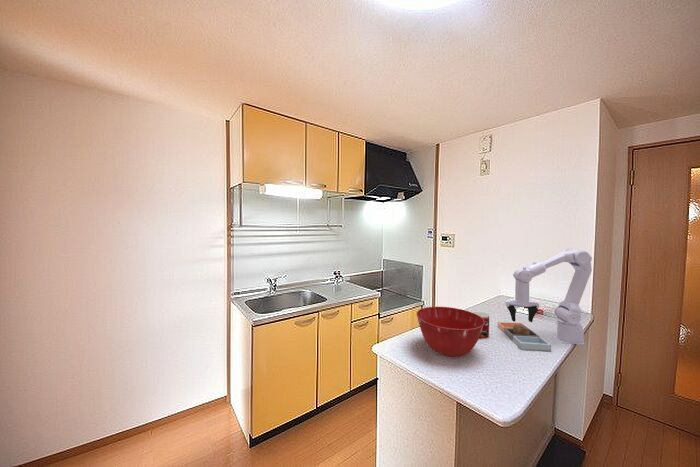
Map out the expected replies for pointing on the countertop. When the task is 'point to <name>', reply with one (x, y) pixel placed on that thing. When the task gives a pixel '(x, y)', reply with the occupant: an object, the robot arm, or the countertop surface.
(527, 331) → the letter cube
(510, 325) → the dish terracotta
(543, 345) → the dish blue
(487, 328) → the canned food
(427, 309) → the mixing bowl
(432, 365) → the countertop surface
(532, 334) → the dish charcoal
